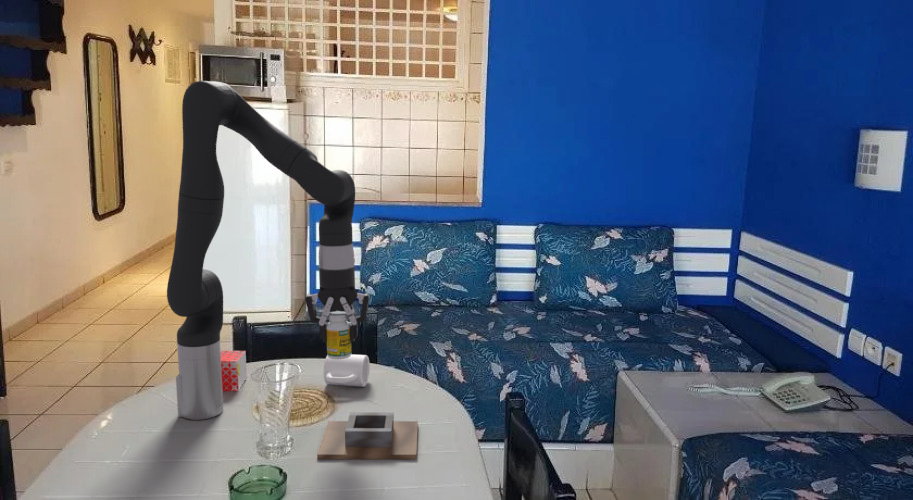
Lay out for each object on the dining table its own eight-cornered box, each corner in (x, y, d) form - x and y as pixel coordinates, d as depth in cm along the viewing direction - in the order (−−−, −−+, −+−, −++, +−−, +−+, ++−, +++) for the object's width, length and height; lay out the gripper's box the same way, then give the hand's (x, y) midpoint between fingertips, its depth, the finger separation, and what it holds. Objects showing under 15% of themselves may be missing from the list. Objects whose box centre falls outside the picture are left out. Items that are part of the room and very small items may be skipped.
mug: (333, 377, 191) (332, 348, 189) (369, 380, 190) (369, 351, 188) (318, 394, 179) (317, 364, 178) (357, 397, 178) (357, 366, 176)
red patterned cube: (238, 391, 180) (237, 361, 179) (206, 391, 180) (205, 361, 179) (246, 379, 188) (245, 350, 187) (216, 379, 188) (214, 350, 187)
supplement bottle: (338, 350, 162) (337, 308, 160) (356, 354, 159) (355, 312, 157) (321, 357, 157) (320, 314, 155) (340, 361, 154) (339, 318, 152)
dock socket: (317, 459, 146) (316, 438, 145) (328, 425, 162) (328, 406, 161) (416, 459, 147) (416, 438, 146) (417, 425, 162) (417, 406, 162)
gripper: (299, 268, 150) (303, 346, 153) (369, 267, 151) (371, 345, 154) (305, 261, 158) (308, 336, 161) (371, 260, 158) (373, 335, 161)
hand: (339, 340), depth 157 cm, fingers closed on supplement bottle, 5 cm apart
